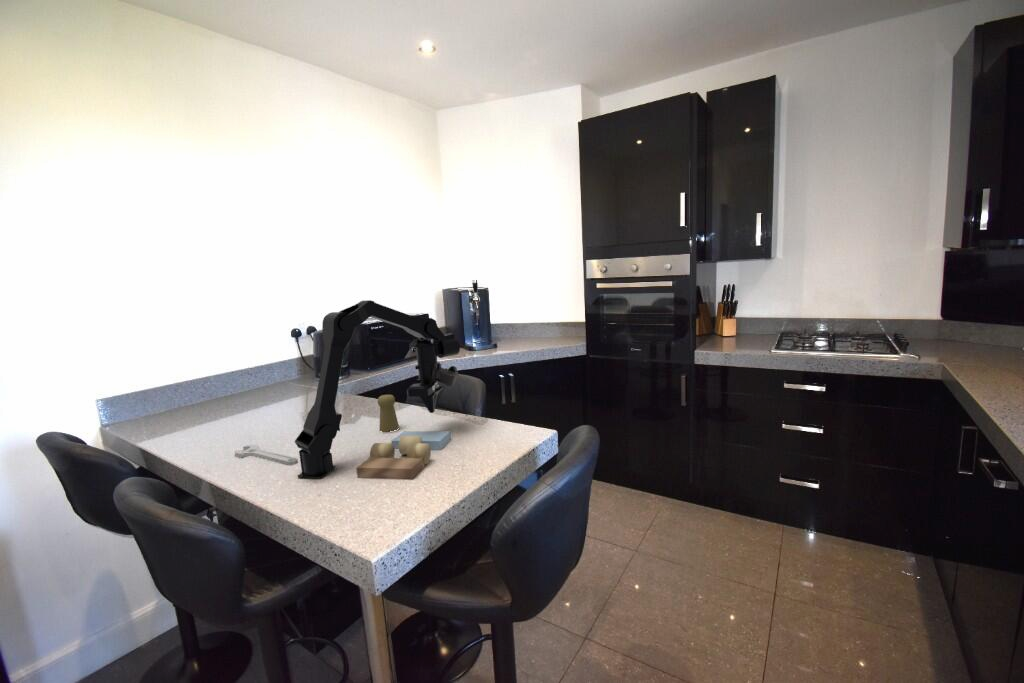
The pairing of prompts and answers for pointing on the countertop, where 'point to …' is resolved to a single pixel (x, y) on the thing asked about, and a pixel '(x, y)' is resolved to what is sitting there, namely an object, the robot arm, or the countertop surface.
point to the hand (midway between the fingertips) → (432, 412)
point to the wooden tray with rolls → (394, 462)
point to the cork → (387, 413)
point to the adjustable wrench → (265, 455)
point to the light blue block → (421, 439)
